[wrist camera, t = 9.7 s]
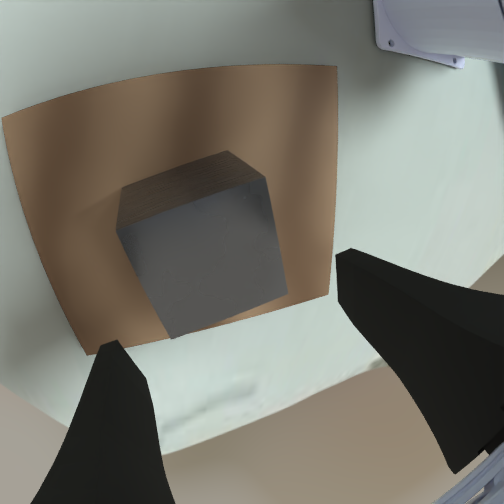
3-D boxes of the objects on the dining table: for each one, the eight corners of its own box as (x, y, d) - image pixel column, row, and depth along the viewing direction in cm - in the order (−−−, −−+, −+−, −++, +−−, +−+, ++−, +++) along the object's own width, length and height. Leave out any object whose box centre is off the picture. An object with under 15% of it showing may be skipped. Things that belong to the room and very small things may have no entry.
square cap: (227, 150, 15) (265, 177, 11) (250, 242, 18) (288, 293, 14) (121, 187, 14) (115, 231, 10) (159, 276, 17) (171, 339, 13)
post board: (326, 66, 15) (379, 66, 11) (321, 286, 23) (355, 325, 19) (9, 116, 11) (-32, 128, 7) (87, 345, 19) (85, 398, 15)
